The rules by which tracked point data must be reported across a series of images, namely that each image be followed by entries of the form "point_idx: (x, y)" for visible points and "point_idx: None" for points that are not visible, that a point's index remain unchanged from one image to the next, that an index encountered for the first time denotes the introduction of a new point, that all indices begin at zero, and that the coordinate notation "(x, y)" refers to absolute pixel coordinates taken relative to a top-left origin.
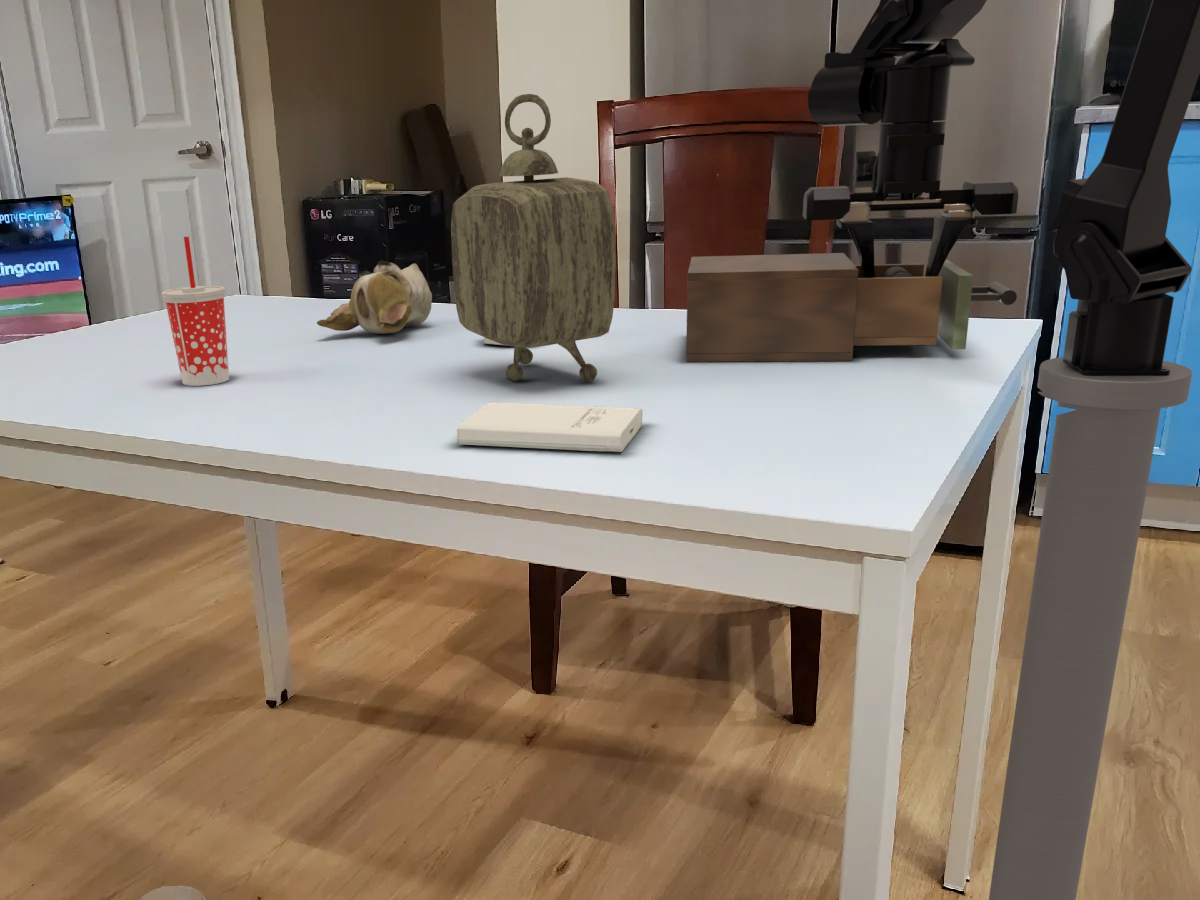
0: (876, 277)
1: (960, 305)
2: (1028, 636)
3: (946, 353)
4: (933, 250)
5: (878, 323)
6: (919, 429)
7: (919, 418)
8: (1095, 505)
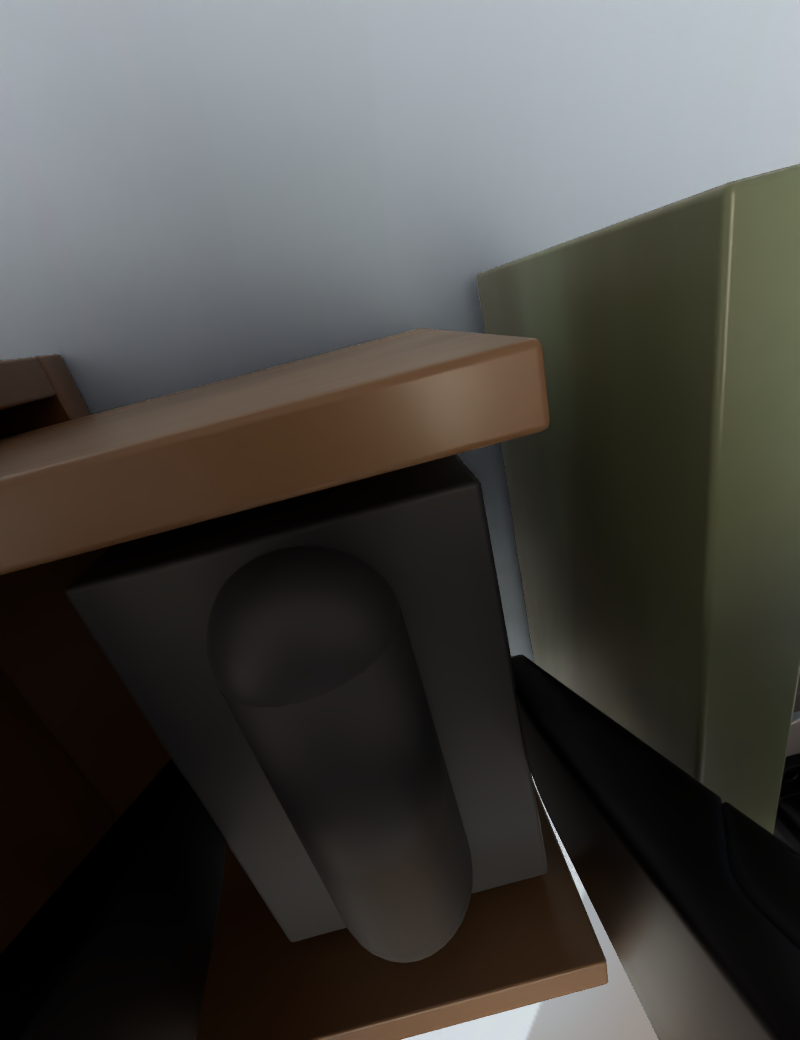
0: (136, 585)
1: None
2: None
3: (522, 613)
4: (672, 1010)
5: None
6: None
7: (466, 1026)
8: None
